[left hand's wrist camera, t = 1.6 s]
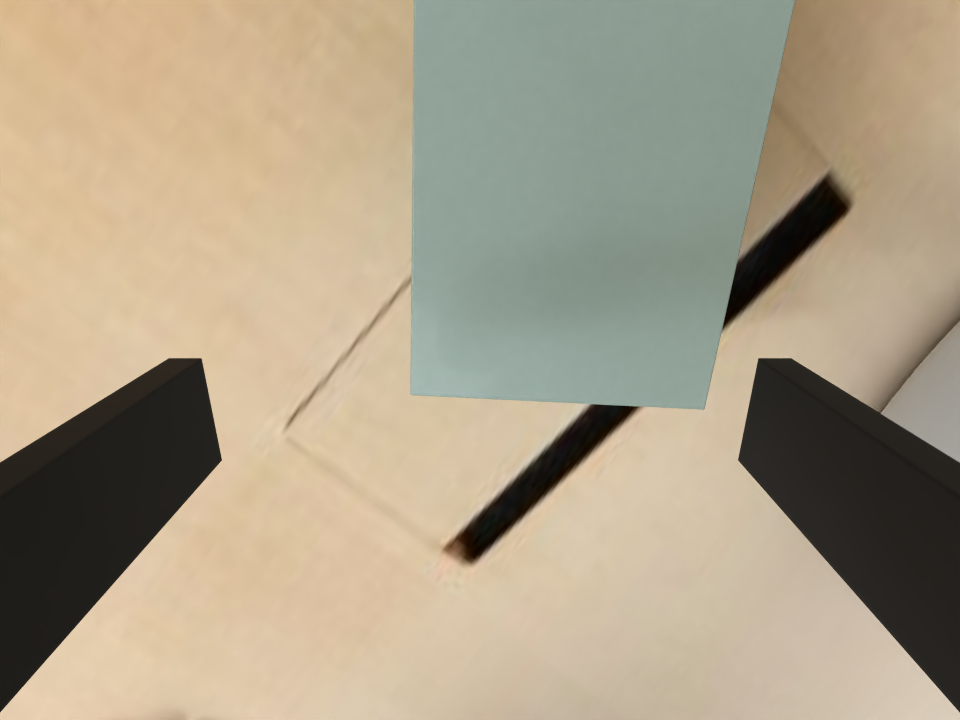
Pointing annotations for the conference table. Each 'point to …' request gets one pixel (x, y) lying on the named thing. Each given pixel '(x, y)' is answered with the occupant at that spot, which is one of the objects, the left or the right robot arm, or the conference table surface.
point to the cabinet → (583, 192)
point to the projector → (933, 398)
